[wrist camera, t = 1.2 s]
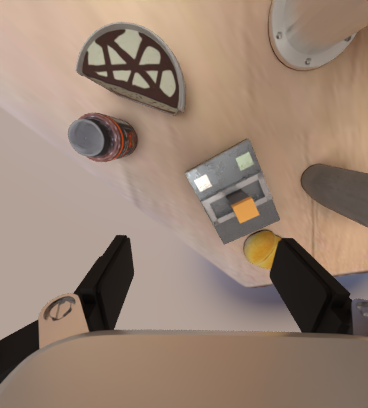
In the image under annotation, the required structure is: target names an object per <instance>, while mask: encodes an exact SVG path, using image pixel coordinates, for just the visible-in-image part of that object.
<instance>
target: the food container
mask: <svg viewBox="0 0 368 408" xmlns="http://www.w3.org/2000/svg"><path fill="white" fill-rule="evenodd" d="M76 72H77V73H78V74H80V75H81V76H85V77H87V78H88V79H90V80H92V81H94V82H95V83H97V84H99V85H101V86H102V87H104V88H106V89H108V90H109V91H111V92H113V93H115V94H116V95H118V96H121V97H123V98H126V99H129V100H132V101H134V102H137V103H140V104H143V105H146V106H148V107H151V108H154V109H157V110H160V111H162V112H165V113H168V114H171V115H173V116H175V115H176V114H177V112H178V111H179V110H180V111H181V112H183V113H184V108H185V100H186V90H185V82H184V77H183V73H182V71H181V68H180V65H179V63H178V61H177V59H176V57H175V56H174V54H173V53H172V51H171V50H170V49H169V47H168V46H167V45H166V44H165V42H164V41H163V40H162V39H161V38H160V37H159V36H157V35H156V34H155V33H153V32H152V31H151V30H149V29H147V28H145V27H143V26H140V25H137V24H134V23H125V22H118V23H111V24H108V25H105V26H103V27H101V28H100V29H98V30H96V31H95V32H94V33H93V34H92V35H91V36H90V37H89V38H88V39H87V41H86V42H85V43H84V45H83V47H82V49H81V51H80V53H79V57H78V60H77V65H76Z"/></svg>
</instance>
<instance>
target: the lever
mask: <svg viewBox="0 0 368 408" xmlns="http://www.w3.org/2000/svg"><path fill="white" fill-rule="evenodd" d="M225 197H226V199H227V201H228V203H229V205H230V207H231V209H232V211H233V212H234V214H235V215H236V217H237V219H238V221H239V222H240V224H241V223H243V222H245V221H247V220H249V219H252V218H254V217H256V216H258V215H259V213H258V210H257V208H256V206H255V203H254V201H253V199H252V197H251V196H250V197H249V196H248V195H247V194H246V193H245V192H244V191H243V190H242V189H241V188H240V189H238V190H236V191H234V192H232V193H230V194H228V195H226V196H225Z"/></svg>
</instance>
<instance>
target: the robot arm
mask: <svg viewBox="0 0 368 408" xmlns="http://www.w3.org/2000/svg"><path fill="white" fill-rule="evenodd" d="M367 25H368V0H272V4H271V8H270V13H269V24H268V26H269V37H270V41H271V45H272V48H273V50H274V52H275V54H276V55H277V57H278V58H279V60H280V61H281V62H283V63H284V64H285V65H286V66H288V67H290V68H292V69H296V70H311V69H315V68H318V67H320V66H322V65H324V64H326V63H328V62H330V61H331V60H333V59H334V58H336V57H337V56H338V55H339V54H341V53H342V52H343V51H344V49H345V48H346V47H347V46H348V45H349V44H350V43H351V41H352V40H353V38H354V37H355V36H356V34H357V32H358V31H359V30H361V29H362V28H364V27H366V26H367ZM276 37H277V38H278V40H277V38H276ZM133 276H134V268H133V260H132V252H131V244H130V238H127V236H126V235H116V237H115V238H114V240H113V241H112V242H111V244H110V246H109V247H108V248H107V250H106V251H105V253H104V254H103V256H101V257H99V258H98V260H97V261H96V262H95V264H94V265H93V266H92V268H91V269H90V271H89V272H88V273H87V275H86V276H85V278H84V279H83V281H82V282H81V283H80V285H79V286H78V288H77V289H76V291H75V292H74V293H73V294H72V293H70V294H69V293H68V294H63V295H61V296H58V297H56V298H55V299H53V300H51V301H50V302H49V303H47V304H46V305H45V306H44V307H43V309H42V310H41V312H40V314H39V318H38V320H37V321H35V322H33V323H31V324H29V325H27V326H25V327H24V328H22V329H20V330H18V331H16V332H14V333H13V334H11V335H9V336H7V337H5V338H4V339H2V340H0V408H368V300H364V299H354V300H351V299H350V298H349V296H350V293H349V292H348V291H347V290H346V289H345V288H344V287H343V286H342V285H341V284H340V283H339V282H338V281H337V280H336V279H335V278H334V277H333V276H332V275H331V274H330V273H329V272H328V271H326V270H325V269H324V268H323V267H322V266H321V265H320V264H319V263H318V262H317V261H316V260H315V259H314V258H313V257H312V256H311V255H310V254H309V253H308V252H307V251H306V250H305V249H304V248H303V247H302V246H301V245H300V244H298V243H297V242H296V241H295V240H294V239H293V238H282V239H281V240H280V241H278V244H277V248H276V252H275V256H274V259H273V263H272V267H271V271H270V279H271V281H272V282H273V284H274V286H275V287H276V289H277V291H278V292H279V294H280V296H281V298H282V299H283V301H284V302H285V304H286V306H287V308H288V309H289V311H290V313H291V315H292V316H293V318H294V320H295V321H296V323H297V325H298V326H299V328H300V330H301V332H302V333H299V332H259V331H207V330H205V331H204V330H114V328H115V325H116V322H117V319H118V317H119V314H120V311H121V308H122V306H123V303H124V300H125V298H126V295H127V292H128V290H129V287H130V284H131V281H132V279H133Z"/></svg>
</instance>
